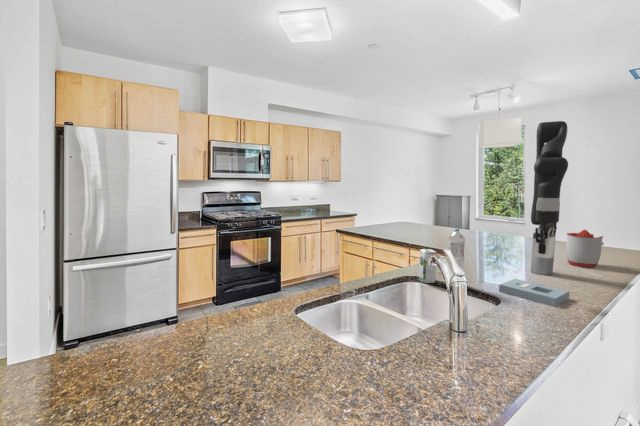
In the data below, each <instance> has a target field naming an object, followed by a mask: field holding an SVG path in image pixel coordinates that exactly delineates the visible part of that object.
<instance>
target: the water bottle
mask: <svg viewBox="0 0 640 426" xmlns="http://www.w3.org/2000/svg"><path fill="white" fill-rule="evenodd" d="M447 242H448V243H447V244H448V245H447V251H448V250H451V252H452V254H453V256H454V259H455V260H456V262H457V264H458V265H459V266H460V267H461V268H462V269H463V271H464V268H465V266H464V265H465V242H466V238H465V237H464V235H463V234H462V233H460V229H459V228H454V232H452V233H451V234H450V235H449V236H448V237H447Z"/></svg>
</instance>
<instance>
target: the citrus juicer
mask: <svg viewBox="0 0 640 426" xmlns="http://www.w3.org/2000/svg"><path fill="white" fill-rule="evenodd" d="M603 238H604V236H598V237H594V234H593V233H590V232H589V231H588V230H587V229H583V230H581V231H580V232H567V233H566V246H565V253H566V258H567V259H566V260H567V262H568V264H569V265H571V266H574V267H575V266H576V267H579V268H596V267H597V265H598V264H599V261H600V259H601V256H602V248H603V247H602V246H604V242H603Z"/></svg>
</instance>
